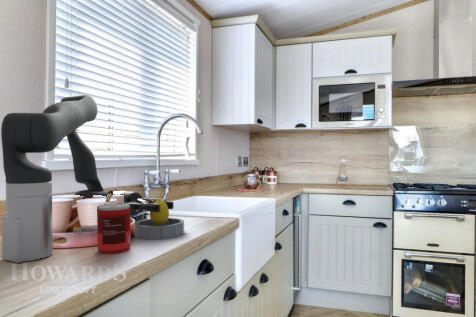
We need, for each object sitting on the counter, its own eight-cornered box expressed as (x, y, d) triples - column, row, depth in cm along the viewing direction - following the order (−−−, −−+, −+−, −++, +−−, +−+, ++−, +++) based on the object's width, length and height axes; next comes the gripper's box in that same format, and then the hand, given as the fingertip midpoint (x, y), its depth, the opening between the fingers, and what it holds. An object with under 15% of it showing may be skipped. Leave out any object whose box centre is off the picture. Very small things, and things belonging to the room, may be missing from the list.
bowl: (162, 241, 95) (162, 228, 95) (124, 236, 102) (124, 224, 102) (193, 231, 107) (192, 219, 107) (157, 227, 114) (157, 216, 114)
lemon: (164, 228, 101) (164, 201, 101) (146, 228, 103) (146, 200, 102) (171, 225, 107) (171, 198, 107) (154, 224, 108) (154, 198, 108)
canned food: (117, 244, 92) (117, 202, 92) (137, 248, 88) (136, 204, 88) (90, 251, 86) (90, 206, 86) (110, 256, 82) (109, 208, 82)
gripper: (106, 193, 105) (149, 196, 97) (140, 189, 118) (181, 191, 110) (106, 218, 105) (149, 223, 97) (140, 211, 118) (181, 215, 110)
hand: (166, 206), depth 103 cm, fingers closed on lemon, 5 cm apart
